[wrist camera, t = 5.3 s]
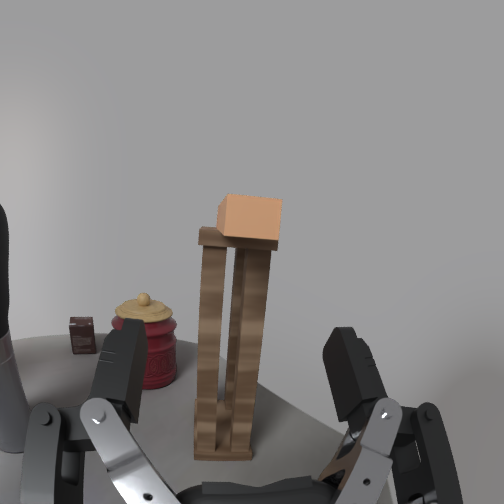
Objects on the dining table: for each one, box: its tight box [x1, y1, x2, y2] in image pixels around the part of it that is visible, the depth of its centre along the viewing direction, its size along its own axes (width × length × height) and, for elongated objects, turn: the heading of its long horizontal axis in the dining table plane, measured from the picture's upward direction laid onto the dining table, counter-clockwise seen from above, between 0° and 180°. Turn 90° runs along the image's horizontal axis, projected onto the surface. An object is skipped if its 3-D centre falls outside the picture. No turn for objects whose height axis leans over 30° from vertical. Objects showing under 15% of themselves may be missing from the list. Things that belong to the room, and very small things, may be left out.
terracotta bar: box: [216, 194, 282, 240], centre depth 31 cm, size 20×4×3 cm, turn 9°
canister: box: [112, 293, 177, 389], centre depth 52 cm, size 13×13×18 cm
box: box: [69, 317, 96, 354], centre depth 57 cm, size 6×6×7 cm
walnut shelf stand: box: [194, 227, 278, 461], centre depth 37 cm, size 14×8×31 cm, turn 9°
